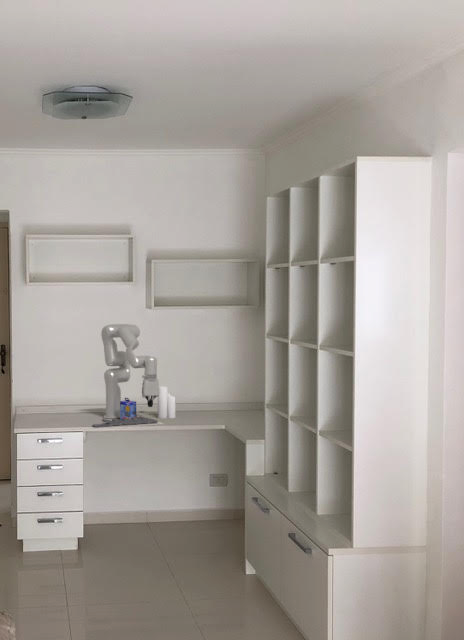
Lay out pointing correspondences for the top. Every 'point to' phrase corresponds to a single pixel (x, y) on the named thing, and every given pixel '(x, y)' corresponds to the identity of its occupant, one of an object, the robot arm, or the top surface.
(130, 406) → the ink cartridge box
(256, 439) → the top surface
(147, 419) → the domino
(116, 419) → the domino
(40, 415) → the top surface
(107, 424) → the domino
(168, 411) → the white tube cluster
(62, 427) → the top surface
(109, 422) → the domino
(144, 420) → the domino
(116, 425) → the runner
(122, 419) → the domino
